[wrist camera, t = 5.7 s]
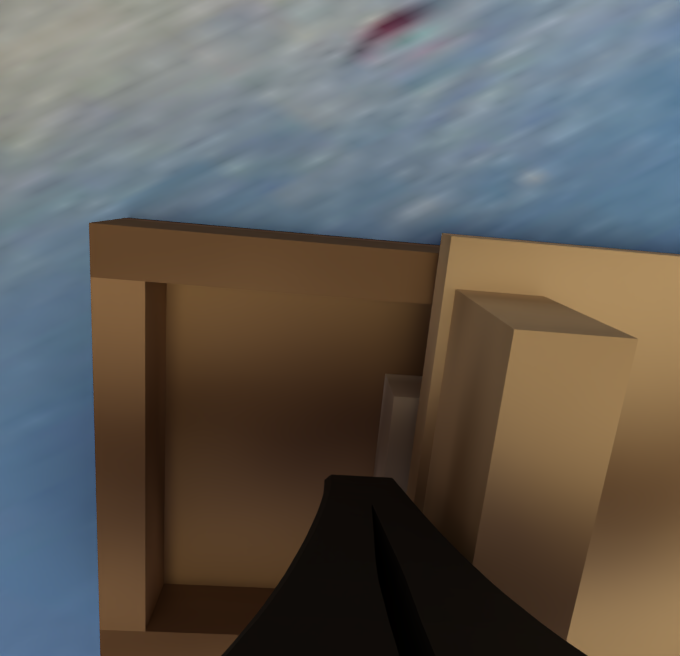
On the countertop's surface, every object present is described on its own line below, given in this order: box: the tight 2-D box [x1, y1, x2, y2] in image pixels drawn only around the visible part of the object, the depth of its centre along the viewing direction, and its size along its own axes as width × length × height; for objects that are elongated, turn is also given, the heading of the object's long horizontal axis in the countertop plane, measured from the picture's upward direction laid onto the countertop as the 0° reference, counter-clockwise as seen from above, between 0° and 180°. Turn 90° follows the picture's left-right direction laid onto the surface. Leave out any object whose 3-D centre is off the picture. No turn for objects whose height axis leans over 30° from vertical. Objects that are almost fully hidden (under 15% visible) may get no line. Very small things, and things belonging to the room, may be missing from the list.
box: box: [89, 218, 440, 656], centre depth 12 cm, size 10×16×2 cm, turn 85°
